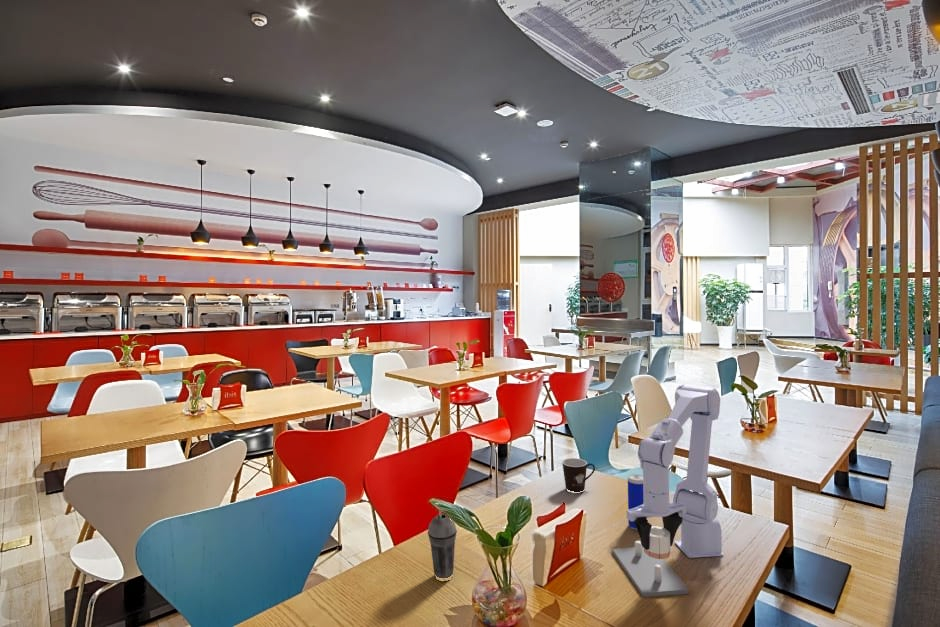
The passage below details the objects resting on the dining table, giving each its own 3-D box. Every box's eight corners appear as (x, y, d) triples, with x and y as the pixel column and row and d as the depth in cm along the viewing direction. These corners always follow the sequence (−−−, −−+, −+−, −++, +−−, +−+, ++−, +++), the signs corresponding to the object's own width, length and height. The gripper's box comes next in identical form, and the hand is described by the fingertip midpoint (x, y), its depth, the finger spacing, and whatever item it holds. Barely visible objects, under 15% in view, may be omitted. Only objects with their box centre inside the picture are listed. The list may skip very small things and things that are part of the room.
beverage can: (648, 531, 138) (647, 481, 137) (629, 530, 139) (628, 480, 138) (645, 523, 143) (644, 474, 142) (627, 522, 144) (626, 473, 143)
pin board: (612, 552, 127) (612, 536, 127) (651, 549, 128) (651, 533, 128) (643, 597, 109) (642, 578, 108) (689, 593, 109) (689, 574, 109)
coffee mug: (563, 494, 165) (562, 466, 164) (562, 484, 173) (561, 457, 173) (597, 496, 163) (597, 467, 163) (595, 485, 171) (594, 458, 171)
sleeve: (660, 544, 116) (660, 524, 116) (674, 556, 111) (674, 535, 110) (639, 547, 115) (639, 527, 115) (653, 560, 110) (653, 539, 109)
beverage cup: (462, 571, 121) (459, 494, 120) (452, 587, 114) (449, 506, 113) (436, 566, 123) (433, 491, 123) (424, 582, 117) (421, 503, 116)
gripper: (672, 479, 118) (673, 533, 118) (619, 486, 115) (620, 541, 115) (691, 491, 111) (692, 548, 111) (635, 498, 108) (636, 556, 108)
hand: (656, 545), depth 113 cm, fingers closed on sleeve, 6 cm apart
